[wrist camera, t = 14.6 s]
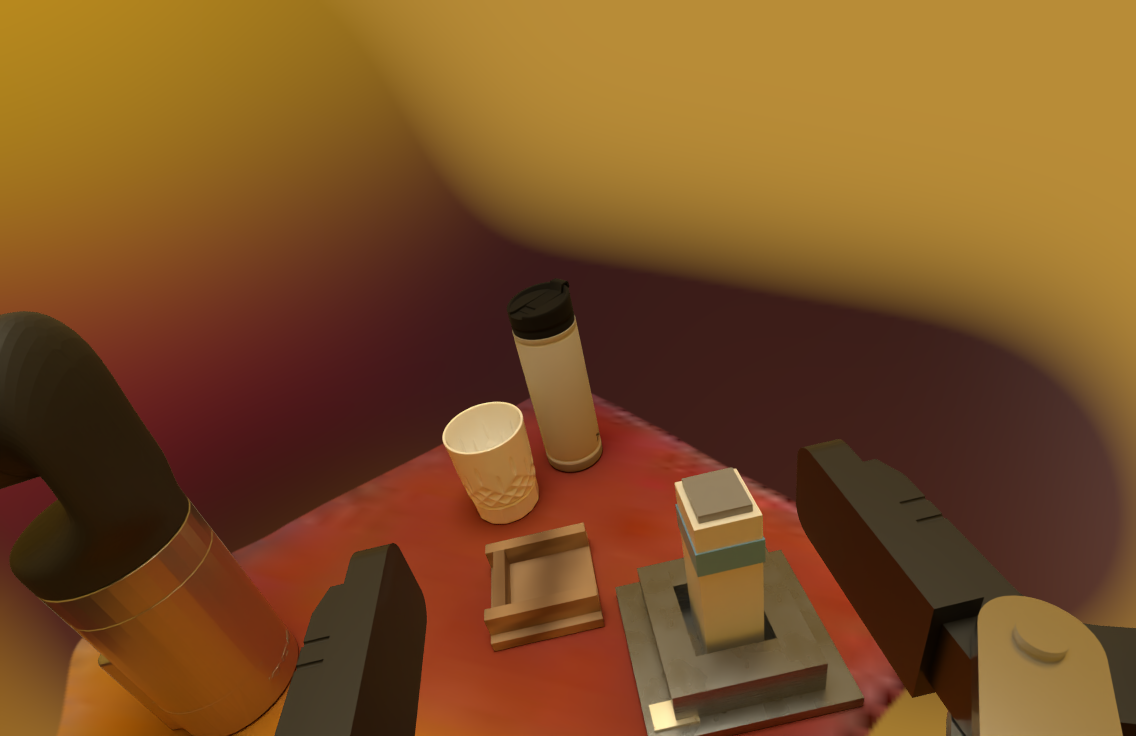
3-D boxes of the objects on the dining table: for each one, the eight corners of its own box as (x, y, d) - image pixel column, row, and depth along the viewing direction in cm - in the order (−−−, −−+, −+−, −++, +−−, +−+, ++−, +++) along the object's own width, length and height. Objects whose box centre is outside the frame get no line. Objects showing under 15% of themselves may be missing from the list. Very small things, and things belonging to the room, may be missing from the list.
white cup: (494, 469, 63) (469, 398, 58) (557, 479, 59) (536, 405, 54) (457, 521, 57) (426, 448, 52) (524, 536, 54) (497, 458, 48)
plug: (707, 668, 39) (692, 525, 31) (689, 615, 42) (671, 475, 35) (766, 655, 39) (764, 508, 31) (743, 603, 42) (736, 460, 35)
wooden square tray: (494, 651, 44) (484, 628, 42) (494, 560, 52) (485, 538, 50) (604, 626, 44) (598, 603, 42) (588, 539, 52) (582, 516, 50)
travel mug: (616, 447, 62) (585, 284, 51) (574, 481, 59) (531, 314, 48) (578, 427, 66) (542, 273, 56) (537, 458, 63) (490, 300, 53)
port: (652, 753, 36) (644, 722, 34) (617, 595, 46) (609, 563, 44) (863, 705, 36) (868, 671, 34) (780, 557, 46) (781, 524, 44)
